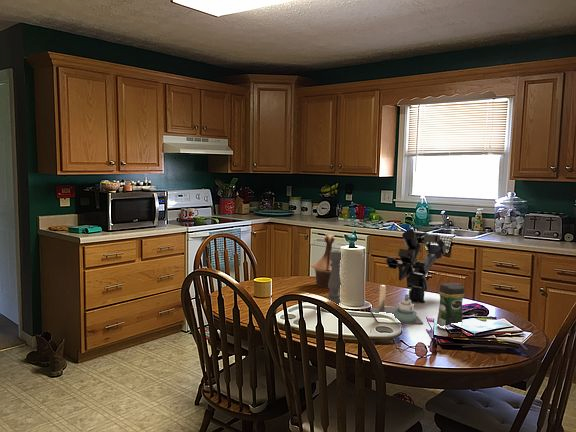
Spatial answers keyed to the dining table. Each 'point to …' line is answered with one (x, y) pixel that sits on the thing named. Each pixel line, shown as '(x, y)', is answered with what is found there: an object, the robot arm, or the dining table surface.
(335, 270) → the candle holder
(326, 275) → the brown tall piece
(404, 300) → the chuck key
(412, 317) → the teal round piece
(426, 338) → the dining table surface
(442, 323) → the coffee jar
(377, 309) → the mat
